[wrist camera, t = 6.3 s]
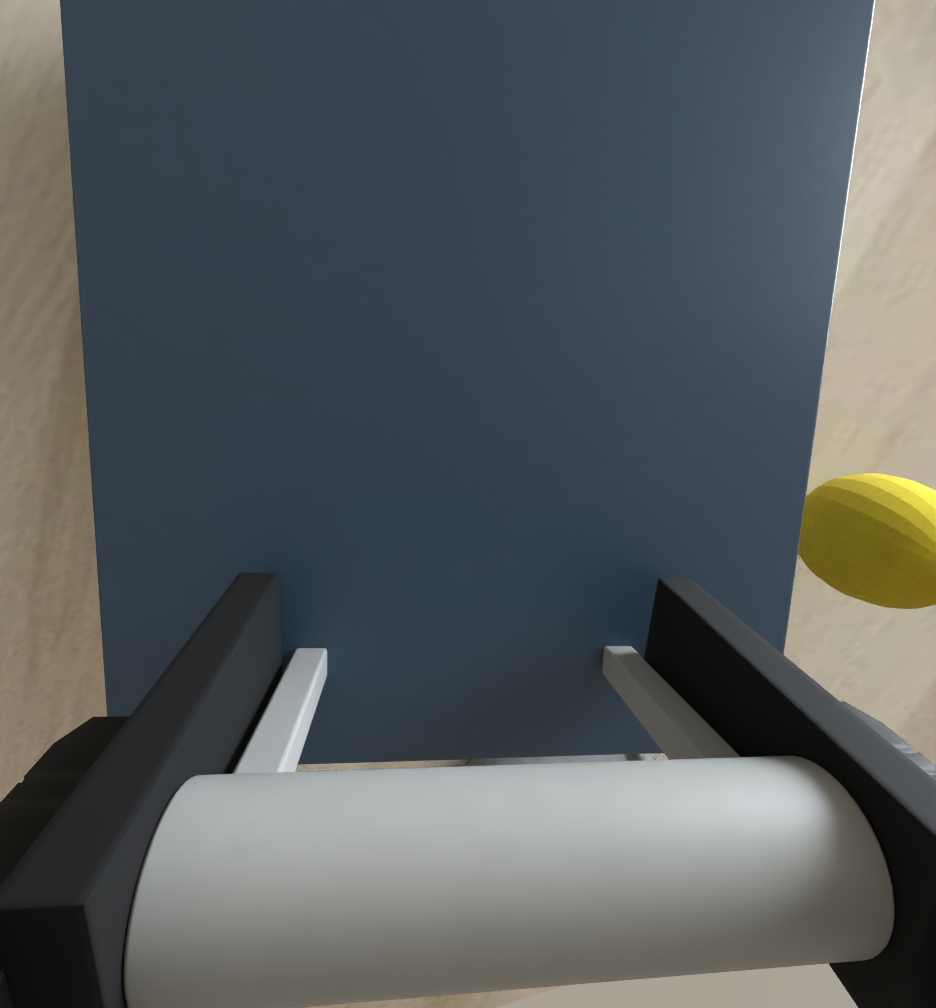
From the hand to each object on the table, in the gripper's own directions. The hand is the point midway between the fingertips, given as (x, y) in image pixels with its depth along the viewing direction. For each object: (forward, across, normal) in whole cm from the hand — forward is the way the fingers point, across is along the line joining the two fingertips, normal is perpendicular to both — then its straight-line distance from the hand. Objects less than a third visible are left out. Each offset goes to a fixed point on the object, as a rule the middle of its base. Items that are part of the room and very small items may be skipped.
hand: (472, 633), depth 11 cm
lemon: (+14, +19, -1) cm, 24 cm away
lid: (+2, 0, +7) cm, 7 cm away
